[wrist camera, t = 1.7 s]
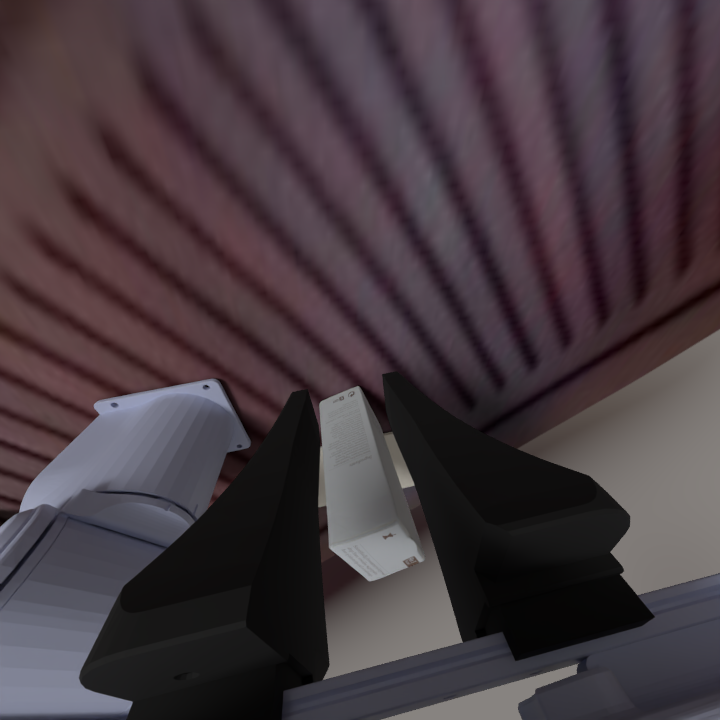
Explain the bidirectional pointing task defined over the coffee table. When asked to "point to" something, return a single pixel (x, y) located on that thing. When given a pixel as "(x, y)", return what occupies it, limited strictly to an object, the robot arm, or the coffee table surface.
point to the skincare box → (364, 491)
